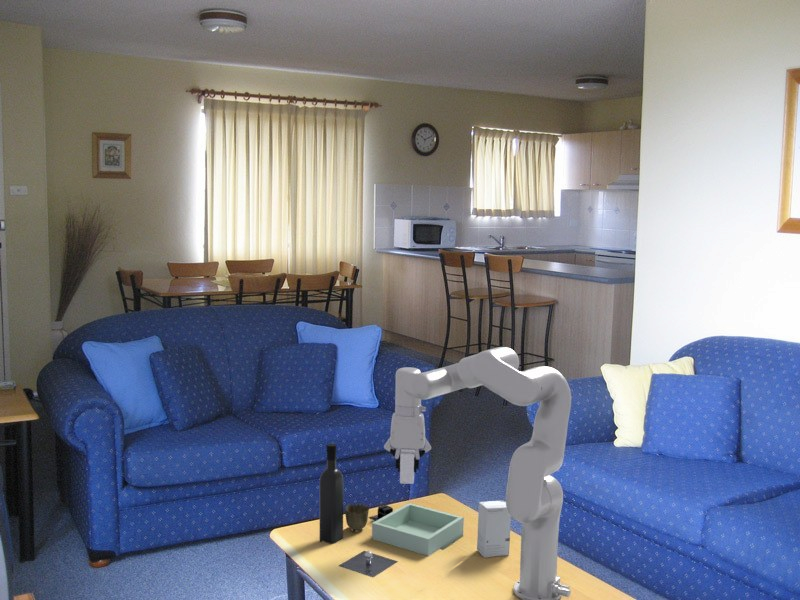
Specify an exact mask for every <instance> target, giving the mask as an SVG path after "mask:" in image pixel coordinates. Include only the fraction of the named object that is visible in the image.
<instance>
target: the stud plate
mask: <svg viewBox="0 0 800 600" xmlns="http://www.w3.org/2000/svg"><path fill="white" fill-rule="evenodd" d="M398 562H399V561H397V560H395V559H391V558H388V557H385V556H382V555H379V554H376V553H373V552H372V551H371V550H367V551H366V550H362V551H361V552H360V553H359V552H358V554H356V555H354V556H352V557H351V558H349V559H347V560H346V561H344V562H342V563H341V564H339V565H338V567H341V568H342V569H347V570H350V571H353V572H355V573H359V574H362V575H364V576H368V577H370V578H375V577H376V576H378V575H380V574H382V573H383V572H384V571H386V570H388V569H389V568H391V567H392V566H394V565H396V564H397V563H398Z"/></svg>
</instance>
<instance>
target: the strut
mask: <svg viewBox="0 0 800 600" xmlns="http://www.w3.org/2000/svg"><path fill="white" fill-rule="evenodd" d="M414 457H415V451H414V449H401V450H400V472H399V484H402V485H403V484H405V485H406V484H407V485H409V484H411V485H413V484H415V483H414V482H415V473H414Z"/></svg>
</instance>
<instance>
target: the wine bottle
mask: <svg viewBox="0 0 800 600" xmlns="http://www.w3.org/2000/svg"><path fill="white" fill-rule="evenodd" d="M337 447H338V445H337V444H336V443H328V444H326V468H325V469H324V470H323V471H322V472H321V475H320V477H319V529H318V530H319V536H318V537H319V539H318V540H319V543H321V542H325V543H328V544H336V543H339V542H340V541H341V540H343V539H344V476H343V474H342V472H341V471H340V469H338V468H337V451H338V450H337Z"/></svg>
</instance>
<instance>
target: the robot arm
mask: <svg viewBox="0 0 800 600" xmlns="http://www.w3.org/2000/svg"><path fill="white" fill-rule="evenodd" d="M519 367H520V358H519V356H518V353H516V351H515V350H513V349H512V348H510V347H508V346H498V347H495V348H490V349H486V350H483V351H480V352H478V353H476V354H473V355H470V356H467V357H466V356H465V357H463V358H461V359H460V360H459V362H457V363H453V364H450V365H447V366H444V367H439V368H436V369H435V368H434V369H432V370H427V371H424V372H421V370H420V369H419V368H417V367H406V366H404V367H401V368H400V367H399V368H398V369H397V370H396V372H395V390H394V391H395V399H394V401H395V402H394V403H395V405H394V407H395V408H394V412H393V413H392V417H391V423H390V433H389V435H390V436H389V438H388V439H387V441H386V442H385V443H384V445H383V448H384V450H385V451H387V452H389V453H390V454H391V455H392V456H393V457H394V458H395V469H397V473H400V453H401V449H405V450H414V451H415V452H414V474H415V473H416V474H417V470H420V458H422V457H423V456H424V455H425V454H426V453H428V452H430V451H431V450H432V446H431V444H430V442H429V440H428V439H427V438H426V425H425V424H426V423H425V416H424V412H426V411H427V406H423V405H422V400H423V401H424V400H425V401H426V400H429V399H432V398H436V397H439V396H441V395H446V394H449V393H452V392H455V391H459V390H462V389H466V388H468V389H474V388H477V387H481V386H484V387H485V388H487V389H488V390H489V391H491V392H493V393H495V394H496V395H498V396H500V397H501V398H503V399H504V400H506V401H507V402H509V403H511V404H512V405H515V406H519V407H527V406H530V405H533V404H535V403H536V404H537V403H538V402H539V406H538V409H537V411H536V413H535V417H534V420H533V430H532V435H531V438H530V440H529V441H528V442H526V443H524V444H521V446H519V447H518V448H516V450H515V451H514V452H513V454H512V455H511V459H510V463H509V469H508V475H507V476H508V477H507V484H506V493H505V502H506V507H507V510H508V512H509V514H510V516H511V519H513V520H514V521H516V522H517V523H521V533H520V534H521V535H520V561H519V565H520V566H519V579H518V580H516V582H514V585H513V593H514V594H515V595H516V596H517V597H518V598H520V599H522V600H560V599H561V598H562V597H565V598H570V596H571V592H572V591H571V590H570V585H568V584H567V585H566V584H562V582H561V577H560V576H558V549H559V547H558V546H559V533H560V532H559V531H560V530H559V529H560V520H561V519H560V518H561V514H562V513H561V512H562V507H563V503H564V502H563V501H564V490H563V487H562V485H561V483H560V482H559V481H558V479H556V477H554V476H552V474H554V473H555V472H557V471H558V470H559V469H560V468H561V467H562V465H563V463H564V460H565V450H566V442H567V436H568V435H567V434H568V426H569V420H570V414H571V407H572V392H571V388H570V385H569V383H568V381H567V379H566V377H565V376H564V375H563V374H562V373H561V372H560V371H559V370H557V369H555V368H553V367H551V366H547V365H546V366H545V365H543V366H535V367H532V368H529V369H528V368H527V369H526V370H522V371H519Z"/></svg>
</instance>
